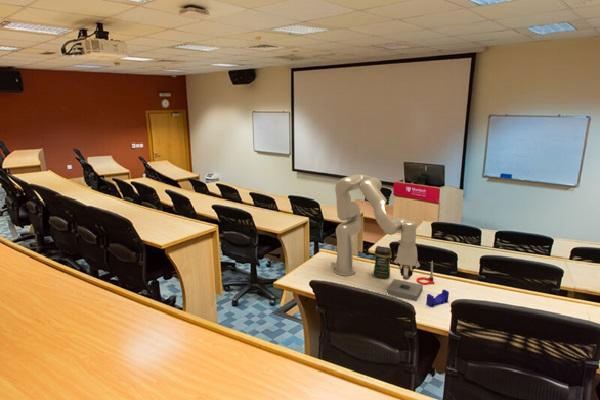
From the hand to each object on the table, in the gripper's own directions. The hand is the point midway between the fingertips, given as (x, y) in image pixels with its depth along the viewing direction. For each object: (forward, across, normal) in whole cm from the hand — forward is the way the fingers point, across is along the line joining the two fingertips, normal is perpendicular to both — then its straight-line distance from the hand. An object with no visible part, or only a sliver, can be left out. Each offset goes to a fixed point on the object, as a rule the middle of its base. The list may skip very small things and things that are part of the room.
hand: (406, 275), depth 202 cm
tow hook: (+10, +7, +18) cm, 22 cm away
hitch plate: (+10, 0, 0) cm, 10 cm away
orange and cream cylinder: (+2, 0, 0) cm, 2 cm away
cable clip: (+11, +17, -3) cm, 20 cm away
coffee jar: (+10, -17, +13) cm, 24 cm away
